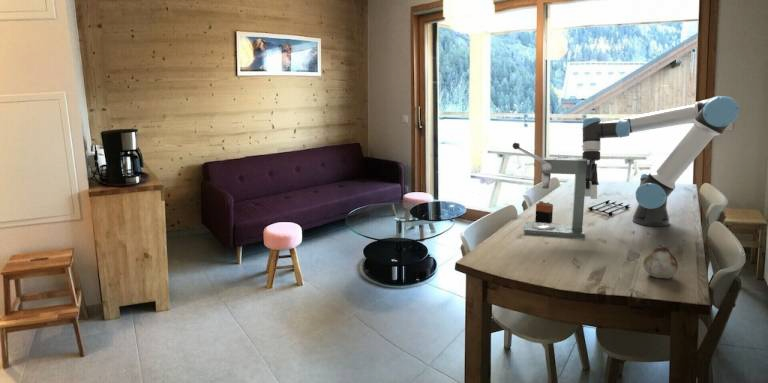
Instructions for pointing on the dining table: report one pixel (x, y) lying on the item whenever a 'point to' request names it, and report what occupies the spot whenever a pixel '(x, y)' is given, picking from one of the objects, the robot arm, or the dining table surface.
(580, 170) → the arbor press
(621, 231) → the dining table surface
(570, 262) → the dining table surface
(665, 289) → the dining table surface
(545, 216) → the battery
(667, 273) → the fruit
